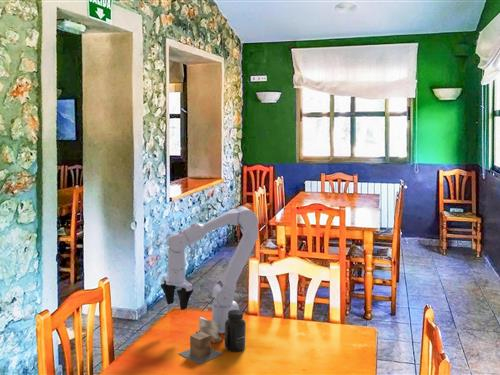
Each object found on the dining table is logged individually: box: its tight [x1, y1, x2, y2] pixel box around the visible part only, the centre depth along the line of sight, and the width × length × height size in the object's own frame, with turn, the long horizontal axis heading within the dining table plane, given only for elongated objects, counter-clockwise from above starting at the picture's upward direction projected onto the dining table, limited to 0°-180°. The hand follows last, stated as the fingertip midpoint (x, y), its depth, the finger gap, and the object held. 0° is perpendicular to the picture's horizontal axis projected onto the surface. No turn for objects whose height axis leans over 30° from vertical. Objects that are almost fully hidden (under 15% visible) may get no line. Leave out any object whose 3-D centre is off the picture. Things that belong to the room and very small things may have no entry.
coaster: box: [178, 348, 224, 365], centre depth 161 cm, size 10×10×1 cm
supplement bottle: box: [223, 309, 247, 353], centre depth 165 cm, size 7×7×12 cm
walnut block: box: [189, 332, 212, 358], centre depth 161 cm, size 4×4×6 cm
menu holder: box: [195, 316, 223, 344], centre depth 173 cm, size 10×3×6 cm, turn 45°
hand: (176, 306), depth 177 cm, fingers open, 7 cm apart
